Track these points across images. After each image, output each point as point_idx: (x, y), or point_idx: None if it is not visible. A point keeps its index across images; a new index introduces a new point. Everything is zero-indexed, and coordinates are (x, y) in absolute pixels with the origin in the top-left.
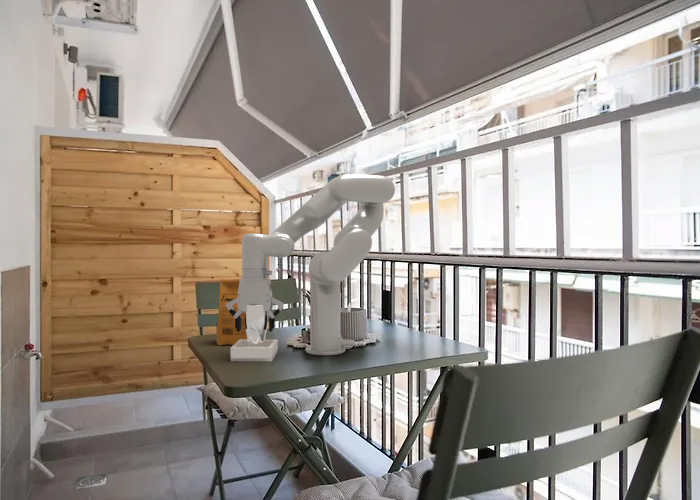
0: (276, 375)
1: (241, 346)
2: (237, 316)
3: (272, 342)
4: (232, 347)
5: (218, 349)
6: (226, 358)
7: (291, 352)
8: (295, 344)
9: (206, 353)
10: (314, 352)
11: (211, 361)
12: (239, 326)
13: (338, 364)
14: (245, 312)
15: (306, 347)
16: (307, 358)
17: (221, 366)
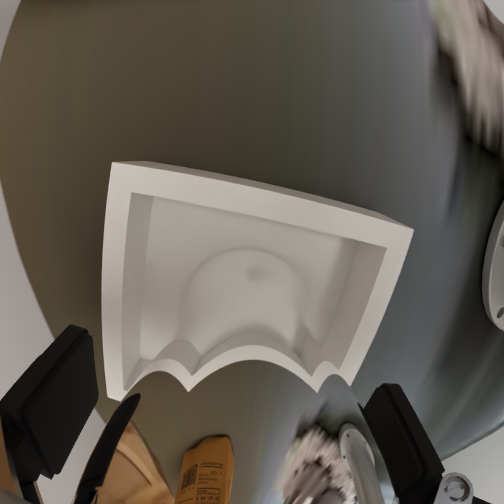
0: None
1: (144, 205)
2: (32, 485)
3: (359, 326)
4: (115, 396)
5: (49, 77)
6: (99, 294)
7: (437, 233)
8: (466, 51)
9: (10, 168)
10: (491, 319)
11: (59, 329)
12: (82, 419)
13: (471, 414)
14: None
15: (502, 233)
16: (448, 355)
17: (117, 405)
